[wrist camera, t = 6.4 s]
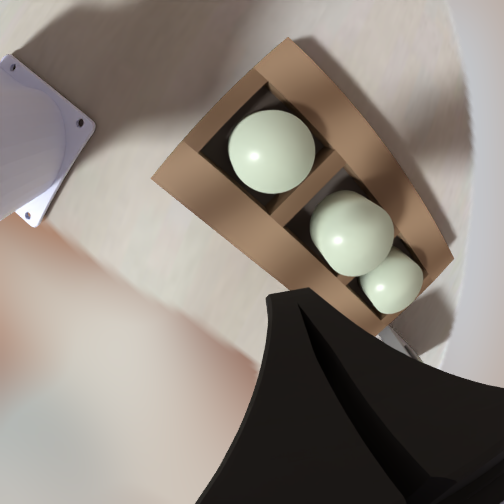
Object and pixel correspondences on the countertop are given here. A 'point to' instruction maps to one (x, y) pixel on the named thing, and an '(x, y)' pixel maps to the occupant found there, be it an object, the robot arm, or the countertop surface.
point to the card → (397, 342)
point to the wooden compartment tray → (301, 184)
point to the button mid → (351, 232)
